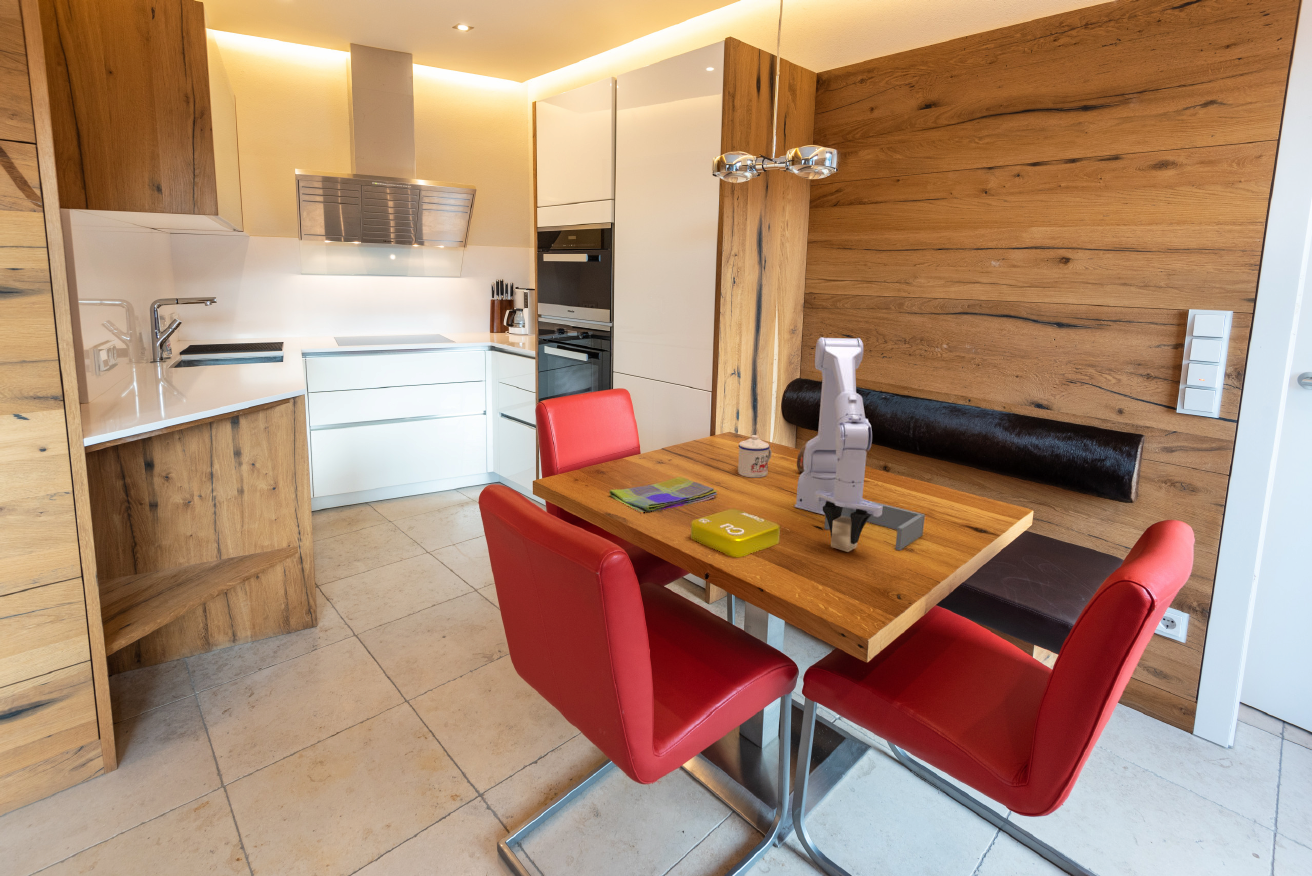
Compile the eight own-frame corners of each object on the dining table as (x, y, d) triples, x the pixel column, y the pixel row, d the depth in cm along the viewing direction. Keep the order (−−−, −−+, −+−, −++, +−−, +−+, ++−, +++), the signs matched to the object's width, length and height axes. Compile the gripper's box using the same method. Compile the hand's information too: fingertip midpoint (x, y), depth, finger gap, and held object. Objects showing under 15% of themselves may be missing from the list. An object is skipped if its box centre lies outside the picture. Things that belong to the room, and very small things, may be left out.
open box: (824, 528, 155) (825, 508, 154) (849, 515, 164) (851, 496, 163) (899, 550, 144) (902, 528, 142) (922, 535, 153) (924, 514, 151)
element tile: (782, 543, 147) (784, 523, 146) (736, 561, 138) (737, 539, 137) (733, 524, 159) (733, 505, 157) (686, 539, 149) (687, 519, 148)
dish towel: (606, 497, 177) (606, 487, 176) (680, 482, 190) (681, 473, 190) (643, 516, 163) (643, 506, 162) (720, 499, 176) (720, 489, 176)
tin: (817, 464, 210) (819, 438, 208) (827, 466, 208) (829, 439, 206) (794, 474, 199) (796, 446, 197) (804, 476, 197) (806, 448, 195)
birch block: (830, 546, 143) (832, 520, 142) (839, 541, 146) (841, 515, 145) (848, 552, 141) (850, 525, 139) (856, 546, 144) (859, 520, 142)
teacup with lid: (753, 480, 192) (755, 440, 190) (730, 472, 199) (732, 434, 196) (781, 473, 200) (783, 435, 197) (758, 466, 206) (760, 429, 204)
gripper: (809, 475, 142) (804, 535, 145) (874, 490, 132) (867, 554, 136) (825, 469, 147) (821, 527, 150) (889, 483, 138) (883, 545, 141)
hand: (844, 539), depth 143 cm, fingers closed on birch block, 4 cm apart
